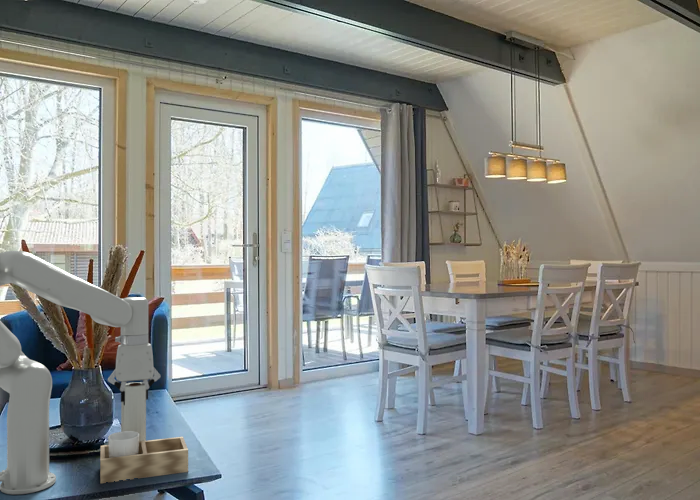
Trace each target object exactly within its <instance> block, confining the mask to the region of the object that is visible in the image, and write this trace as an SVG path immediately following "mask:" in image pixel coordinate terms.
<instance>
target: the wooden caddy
mask: <svg viewBox="0 0 700 500" xmlns="http://www.w3.org/2000/svg"><path fill="white" fill-rule="evenodd" d="M99 457H100V460H99V461H100V469H99V471H100V474H99V476H100V483H99V484H106V482H108V483H114V481H115V482H120V481H119V480H123V481H127V480H126V479H130V480H135V479H134V478H138V479H143V478H145V479H146V478H152V477H158V476H165V475H166V476H167V475H174V474H175V475H176V474H182V473H188V472H189V448H188V446H187V443H186V440H185V438H184V436H177V437H176V436H175V437H167V438H159V439H149V440H146V441H139V450H138V455H130V456H121V457H113V458H109V446H108V445H106V444H105V445H104V444H103V445H100V456H99Z"/></svg>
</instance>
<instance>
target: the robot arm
mask: <svg viewBox="0 0 700 500" xmlns="http://www.w3.org/2000/svg"><path fill="white" fill-rule="evenodd" d="M9 284H13V285H16V286H17V287H19V288H22V289H24V290H26V291H28V292H30V293H33V294H35V295H37V296H39V297H41V298H43V299H45V300H47V301H49V302H50V303H52V304H56V305H58V306H61V307H65V308H69V309H73V310H76V311H79V312H81V313H83V314H84V313H85V314H87V315H89V316H90V318H91V319H92V321H94V322H95V323H97V324H100V325H104V326H109V327H113V328H114V327H115V328H120V335H119V336H115V339H114V341H115V343H117V342H118V343H120V344H119V345H118V346H117V350H116V357H115V369H114V370H113V371H112V373H111V374H110V375H109V376H108V378H107V382H108V383H110V384H112V385H114V386H115V387H116V388H117V390H119V391H120V403H121V402H123V404H124V405H125V391H124V389H125V386H126V383H128V382H137V381H142V383H144V385H146V401H147V400H149V389H150V388H151V387H152V385H153V384H154V383H155V382H157V381H158V380H160V379H161V374H160V373H159V372H158V370H157V369H156V368H155V367H154V355H153V347H152V344H151V343H149V300H148V299H147V298H146V297H144V296H138V297H137V296H129V297H128V296H127V297H124V298H120V297H119V296H117V295H115V294H113V293H111V292H109V291H107V290H106V289H103V288H100V287H99V286H96V285H94V284H92V283H90V282H88V281H85V280H84V279H83V278H80V277H77V276H75V275H73V274H71V273H69V272H67V271H66V270H64V269H61V268H60V267H57V266H56V265H54V264H52V263H50V262H47V261H46V260H44V259H42V258H41V257H38V256H37V255H34V254H32V253H30V252H27V251H23V250H9V251H8V250H7V251H3V252H0V287H1V286H5V285H9ZM115 378H116V379H115ZM0 389H2V390H3V391H5V392H6V393H8V394H9V399H8V405H7V414H6V436H7V437H6V450H7V451H6V452H7V453H6V459H7V460H6V466H7V467H6V469H2V470H1V471H0V492H2V493H4V494H7V495H25V494H32V493H35V492H41V491H42V490H46V489H48V488H50V487H51V486H53V485H54V484H55V483H56V481H57V476H56V474H55V473H53V472H50V404H51V403H50V402H51V397H52V396H51V395H52V389H53V377H52V374H51V372H50V370H49V369H48V368H47V367H46V366H45V365H44V364H42V363H40V362H38V361H36V360H33V359H30V358H29V357H28V356H27V355H25V353H24V352H23V351H22V345H21V343H20V340H19V339H18V337H17V336H16V335H15V334H14V333H12V331H11V330H10V329H9V328H8V327H7V326H6V325H5V324H4V323H3V321H1V320H0Z"/></svg>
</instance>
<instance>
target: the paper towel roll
mask: <svg viewBox="0 0 700 500" xmlns="http://www.w3.org/2000/svg"><path fill="white" fill-rule="evenodd" d="M124 391H125V405H124V404H123V402H121V401H120V403H121V406H120V407H121V410H120V413H121V416H120V419H121V421H120V424H121V425H120V427H121V428H120V429H121V430H120V432H122V431H134V432H138V433H139V441H147V400H146V385H144V383H143V381H140V382H137V381H131V382H126V386H125V389H124Z"/></svg>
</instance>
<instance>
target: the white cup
mask: <svg viewBox="0 0 700 500" xmlns="http://www.w3.org/2000/svg"><path fill="white" fill-rule="evenodd" d="M107 441H108V442H107V443H108V446H109V458H113V457H121V456H130V455H138V450H139V433H138V432H134V431H122V432H121V431H118V432H114V433H111V434H109V435H108V436H107Z"/></svg>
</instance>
